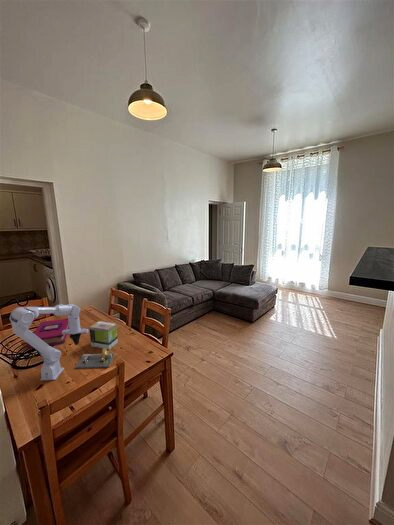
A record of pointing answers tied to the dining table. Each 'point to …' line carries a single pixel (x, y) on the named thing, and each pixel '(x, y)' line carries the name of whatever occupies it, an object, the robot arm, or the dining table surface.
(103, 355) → the slider handle
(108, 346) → the tea box
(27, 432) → the dining table surface
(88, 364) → the bolt plate
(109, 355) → the slider beam
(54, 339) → the book
